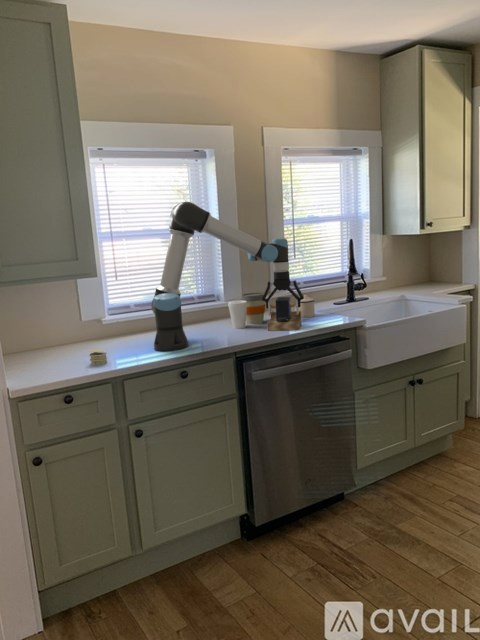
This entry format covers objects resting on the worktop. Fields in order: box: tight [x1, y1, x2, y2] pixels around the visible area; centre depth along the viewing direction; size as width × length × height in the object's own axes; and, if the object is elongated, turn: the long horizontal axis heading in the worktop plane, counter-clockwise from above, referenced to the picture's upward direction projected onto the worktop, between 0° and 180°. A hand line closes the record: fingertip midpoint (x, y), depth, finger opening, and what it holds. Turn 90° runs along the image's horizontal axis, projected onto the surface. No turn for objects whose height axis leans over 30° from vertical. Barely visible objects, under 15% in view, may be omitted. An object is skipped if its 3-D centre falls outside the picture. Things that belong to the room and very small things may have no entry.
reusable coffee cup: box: [241, 292, 266, 325], centre depth 285 cm, size 13×13×15 cm
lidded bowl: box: [270, 301, 296, 312], centre depth 283 cm, size 13×13×11 cm
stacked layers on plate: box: [88, 348, 108, 366], centre depth 220 cm, size 10×9×6 cm
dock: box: [266, 310, 302, 332], centre depth 265 cm, size 15×13×7 cm
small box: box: [274, 296, 291, 321], centre depth 263 cm, size 11×6×10 cm, turn 169°
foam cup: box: [227, 300, 247, 329], centre depth 274 cm, size 10×9×13 cm
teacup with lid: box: [298, 294, 316, 319], centre depth 293 cm, size 12×9×12 cm
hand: (283, 314), depth 264 cm, fingers open, 13 cm apart
